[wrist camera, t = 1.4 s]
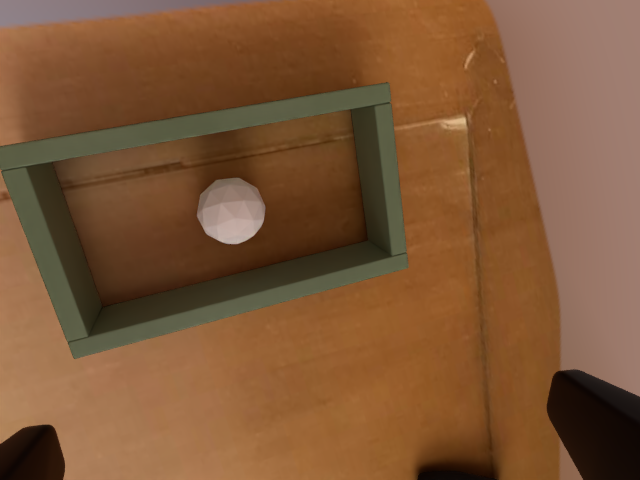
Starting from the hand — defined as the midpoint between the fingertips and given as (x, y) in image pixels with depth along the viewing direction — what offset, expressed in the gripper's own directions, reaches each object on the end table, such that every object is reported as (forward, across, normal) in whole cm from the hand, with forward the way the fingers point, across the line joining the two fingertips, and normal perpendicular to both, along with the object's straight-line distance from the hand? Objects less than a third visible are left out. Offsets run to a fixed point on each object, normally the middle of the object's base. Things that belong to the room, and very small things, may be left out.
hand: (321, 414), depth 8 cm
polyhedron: (+14, +2, 0) cm, 14 cm away
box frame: (+14, +2, 0) cm, 14 cm away
